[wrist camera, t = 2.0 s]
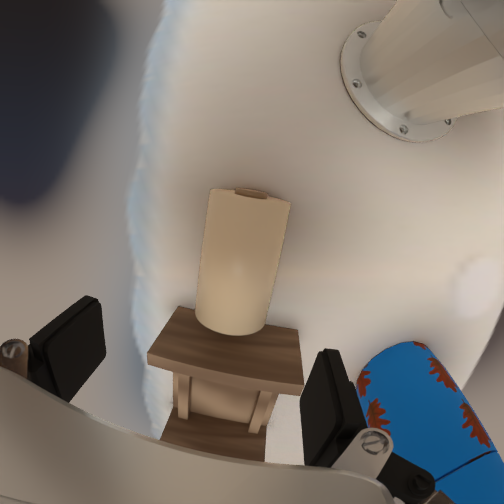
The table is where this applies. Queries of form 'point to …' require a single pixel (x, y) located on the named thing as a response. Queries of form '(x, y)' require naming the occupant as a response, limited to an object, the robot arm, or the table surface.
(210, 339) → the cradle
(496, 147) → the table surface
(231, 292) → the kraft roll
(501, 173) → the table surface
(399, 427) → the thermos
